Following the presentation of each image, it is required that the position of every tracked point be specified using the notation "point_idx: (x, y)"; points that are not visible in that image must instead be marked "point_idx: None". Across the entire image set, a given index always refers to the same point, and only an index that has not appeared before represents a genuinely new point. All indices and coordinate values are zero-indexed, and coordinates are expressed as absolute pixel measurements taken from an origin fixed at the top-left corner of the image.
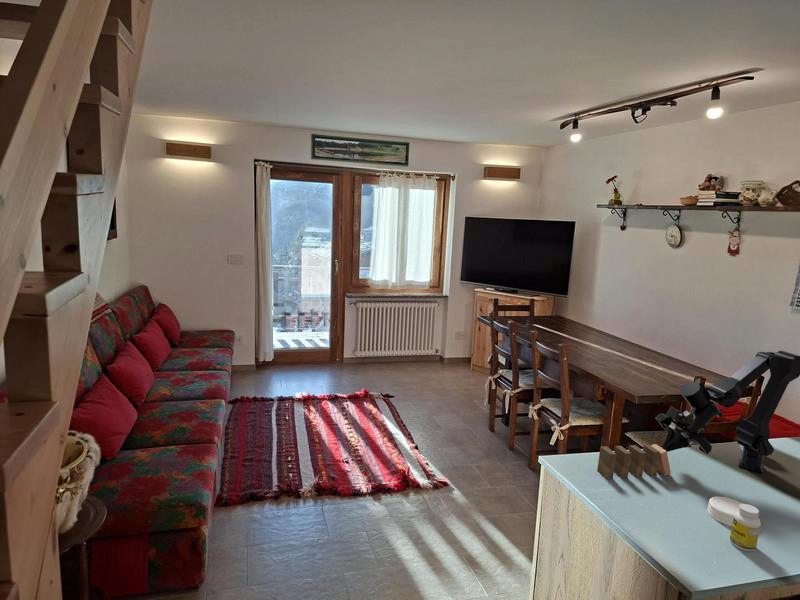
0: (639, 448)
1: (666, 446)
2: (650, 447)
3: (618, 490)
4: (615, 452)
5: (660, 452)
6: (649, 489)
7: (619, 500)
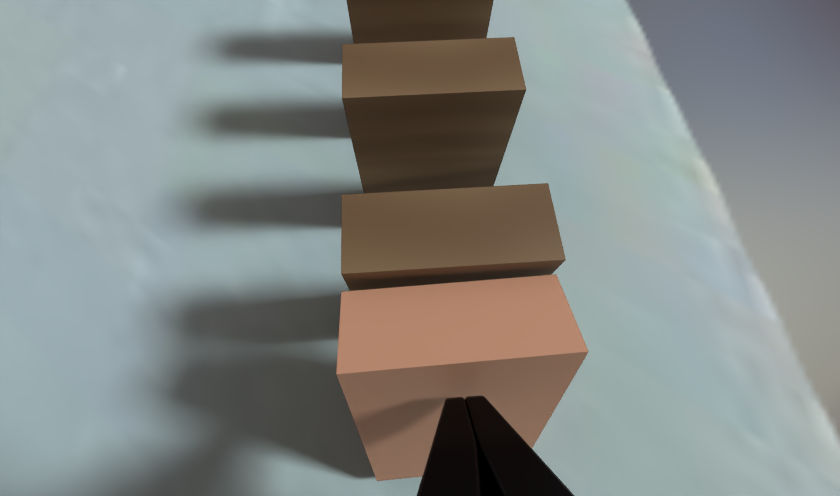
0: (442, 88)
1: (445, 450)
2: (474, 222)
3: (257, 39)
4: None
5: (366, 299)
6: (229, 187)
7: (179, 6)
